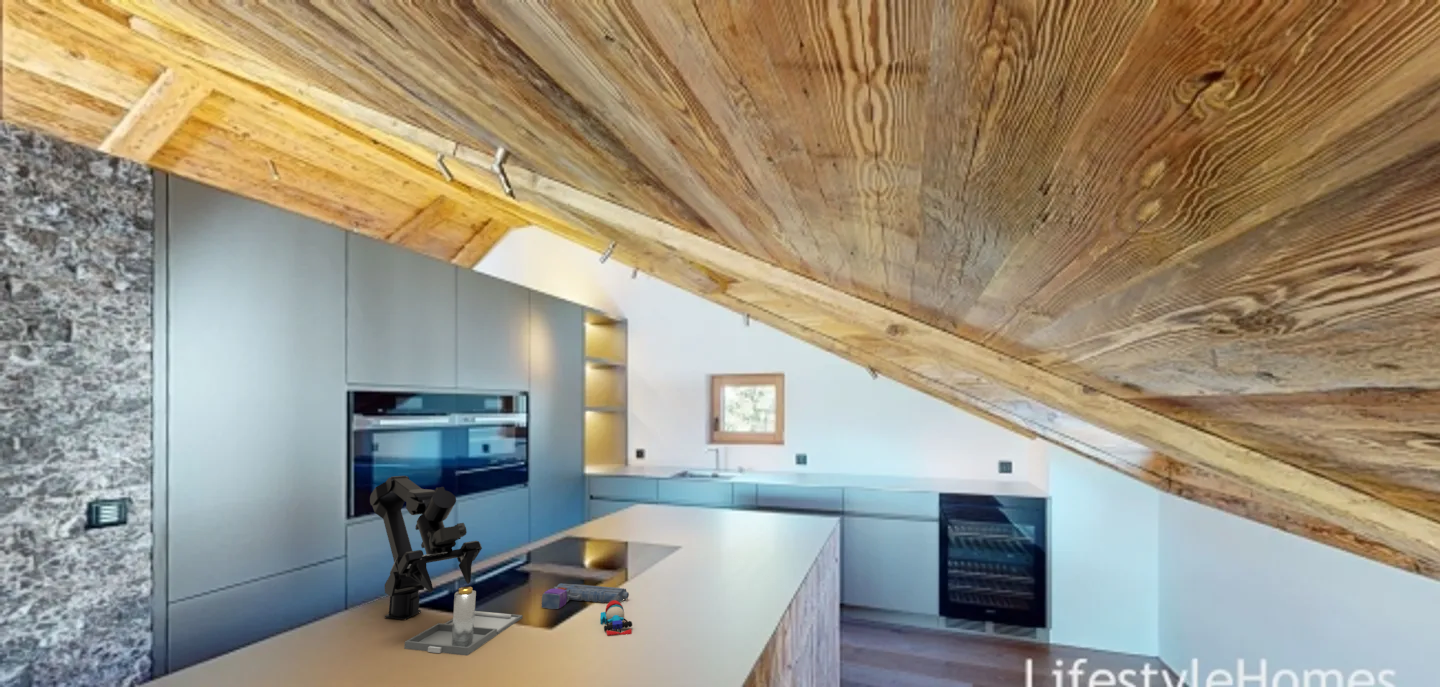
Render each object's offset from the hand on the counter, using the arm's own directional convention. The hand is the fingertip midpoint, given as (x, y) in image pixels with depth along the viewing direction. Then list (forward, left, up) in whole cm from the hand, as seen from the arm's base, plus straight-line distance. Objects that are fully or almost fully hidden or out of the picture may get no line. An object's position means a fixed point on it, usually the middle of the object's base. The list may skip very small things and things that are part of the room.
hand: (450, 586), depth 144 cm
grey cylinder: (+6, -4, -12) cm, 14 cm away
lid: (+2, +11, -13) cm, 17 cm away
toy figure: (+35, +21, -13) cm, 43 cm away
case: (+2, -2, -13) cm, 13 cm away
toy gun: (+20, +35, -14) cm, 43 cm away
